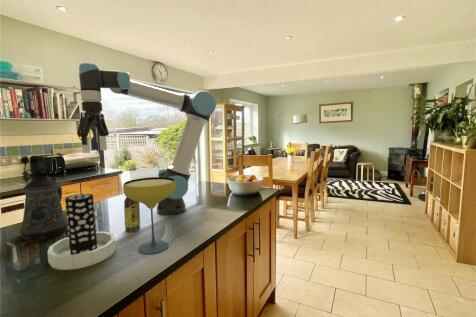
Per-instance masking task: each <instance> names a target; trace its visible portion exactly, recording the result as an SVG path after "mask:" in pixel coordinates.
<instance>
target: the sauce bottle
mask: <svg viewBox="0 0 476 317" xmlns="http://www.w3.org/2000/svg"><path fill="white" fill-rule="evenodd" d="M123 205H124V206H123V210H124V214H123V215H124V226H125V232H130V233H131V232H136V231H138V230H140V228H141V216H140V215H141V213H140V210H141V208H140V202H137V201H134V200H131V199H129V198H128V197H127V196H125V199H124V202H123Z"/></svg>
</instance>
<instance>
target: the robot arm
mask: <svg viewBox="0 0 476 317" xmlns="http://www.w3.org/2000/svg"><path fill="white" fill-rule="evenodd" d="M78 68H79V69H78V77H79V87H80V96H81V99H80V100H81V101H82V102H81V109H82V110H81V111H83V112H80V114H79V117H80V118H79V123H78V127H77V132H76V135H77V136H78V138H81V150H82V154H90V153H91V145H90V144H91V143H90V136H88V135H89V133H90V131H91V128H92V126H93V125H94V126H95V128H96V130H97V131H98V133H99V137H98V138H99V150H100V151H108V146H107V144H108V143H107V142H108V141H107V137H108V136H109V134H110V132H109V129H108V127H107V124H106V120H105V116H104V114H103V113H100V112H102V111H103V105H102V104H103V103H102V90H101V89H109V90H110V91H111V92H113V93H114V94H118V95H119V94H120V95H125V96H129V97H132V98H137V99H141V100H144V101H148V102H151V103H154V104H155V103H156V104H159V105H162V106H166V107H170V108H173V109H177V110H178V112H182V113H185V117H186V119H187V120H186V122H185V126H184V128H183V131H182V133H181V137H180V139H179V143H178V145H177V149H176V151H175V155H174V157H173V160H172V162H171V165H169V166H168V167H167V168H161V169H159V170H158V174H157V177H167V178H173V179H174V180H175V182H176V189H175V191H174V192H173V193H172V194H171V195H170V196H169V197H167V198H165V199H163V200H162V201H160V202H159V203H157V205H156V212H157V214H160V215H176V214H179V213H183V212H185V211H186V203H185V201H184V198H183V197H184V196H185V195H186V194H187V193H188V191H189V179H190V177H191V172H190V168H191V164H192V161H193V158H194V156H195V152H196V150H197V147H198V144H199V140H200V138H201V135H202V132H203V129H204V126H205V125H206V124H208V123H209V121H210V118H211V115H212V114H213V113H214V112H215V110H216V107H217V102H216V98H215V97H214V95H213V94H212V93H211V92H209V91H206V90H199V91H197V92H195V93H193V94H187V93H185V92H184V93H181V94H180V93H177V92H173V91H169V90H166V89H164V88H159V87H155V86H153V85H148V84H145V83H142V82H138V81H136V80H135V81H134V80H132V79H131V78H130V77H131V75H130V72H128V71H122V70H105V69H100V66H99V65H98V64H96V63H90V62H83V63H80V64H79V66H78Z"/></svg>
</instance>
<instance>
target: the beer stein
mask: <svg viewBox="0 0 476 317" xmlns="http://www.w3.org/2000/svg"><path fill="white" fill-rule="evenodd" d="M22 191H23V193H24V194H25V200H24V201H25V202H24V211H23V219H22V222H21V226H20V228H19V229H20V230H19V233H20V234H21V235H20V236H21V238H22V239H23V240H24V241H41V240H42V241H43V240H47V239H50V238H54V237H57V236H59V235H61V234H64V233H65V232H66V231H68V225H67V217H66V216H65V213H64V210H63V206H62V205H63V204H62V199H63V188H62V186H61V185H60V182H57V179H56V178H55V177H52V176H49V175H48V174H40V175H36V176H35V175H34V178H33V179H32V180H31V181H29V182H28V183H27V184H25V186H24V187H23V188H22ZM46 238H47V239H46Z"/></svg>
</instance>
